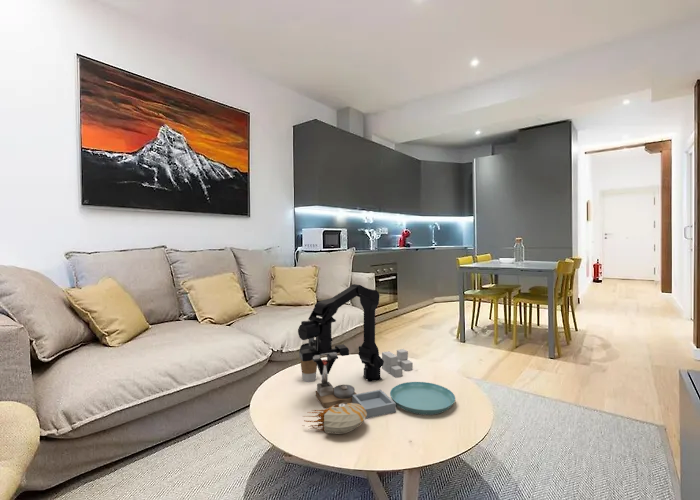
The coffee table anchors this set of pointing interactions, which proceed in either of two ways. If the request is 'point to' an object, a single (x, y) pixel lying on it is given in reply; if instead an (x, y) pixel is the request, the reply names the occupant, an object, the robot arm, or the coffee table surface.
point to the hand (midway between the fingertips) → (324, 374)
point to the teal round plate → (422, 397)
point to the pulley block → (334, 394)
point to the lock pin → (324, 372)
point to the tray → (375, 403)
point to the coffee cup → (308, 366)
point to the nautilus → (340, 418)
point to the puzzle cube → (396, 362)
